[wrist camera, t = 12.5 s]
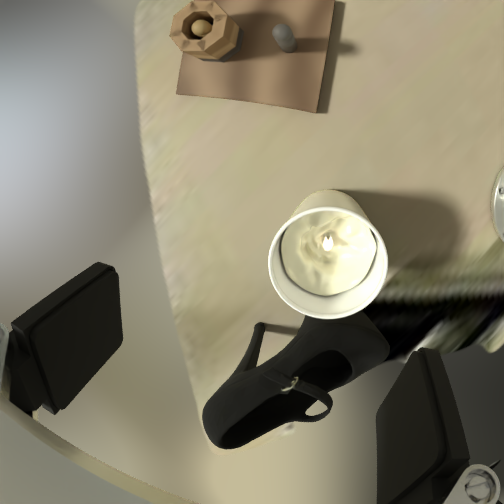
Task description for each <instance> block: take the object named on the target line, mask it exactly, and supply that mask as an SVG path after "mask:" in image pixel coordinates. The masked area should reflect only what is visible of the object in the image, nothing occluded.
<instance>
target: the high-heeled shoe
mask: <svg viewBox="0 0 504 504" xmlns="http://www.w3.org/2000/svg"><path fill="white" fill-rule="evenodd" d="M264 332H265V327H264V324H263V323H257V324H256V325H255V327H254V332H253V336H252V339H251V342H250V344H249V347H248V349H247V351H246V353H245V355H244V357H243V359H242V360H241V362H240V364H239V365H238V367H237V368H236V370H235V371H234V373H233V374H232V375H231V376H230V377H229V379H228V380H227V381H226V382H225V383H224V384H223V385H222V386H221V387H220V388H219V389H218V390H217V391H216V392H215V393H214V395H213V396H212V397H211V398H210V399H209V400H208V401H207V403H206V404H205V406H204V409H203V414H202V420H203V425H204V428H205V431H206V433H207V435H208V437H209V439H210V440H211V442H212V443H213V444H214V445H216V446H217V447H219V448H222V449H234V448H238V447H241V446H243V445H245V444H247V443H249V442H250V441H252V440H254V439H256V438H258V437H260V436H262V435H264V434H265V433H267V432H269V431H271V430H273V429H275V428H277V427H279V426H281V425H283V424H285V423H288V422H294V421H298V422H316V421H319V420H321V419H323V418H324V417H325V416H327V415H328V414H329V413H330V410H331V408H332V405H333V401H332V398H331V396H330V395H329V394H328V392H330V391H332V390H334V389H336V388H338V387H341V386H343V385H345V384H347V383H349V382H351V381H352V380H354V379H356V378H357V377H358V376H360V375H361V374H363V373H365V372H367V371H368V370H370V369H372V368H374V367H376V366H377V365H379V364H381V363H382V362H383V361H384V360H385V359H386V358H387V356H388V354H389V351H390V346H389V344H388V342H387V341H386V339H385V338H384V336H383V335H382V334H381V332H380V331H379V330H378V329H377V327H376V326H375V325H374V324H373V323H372V322H371V320H370V319H369V317H368V316H367V315H366V314H365V313H364V312H363V311H361V310H360V311H358V312H356V313H354V314H352V315H349V316H346V317H342V318H336V319H321V318H315V317H311V316H308V315H305V318H304V321H303V323H302V325H301V327H300V329H299V331H298V334H297V335H296V336H295V337H294V338H293V340H292V341H291V342H290V343H289V344H288V345H287V346H286V347H285V348H284V349H283V350H282V351H280V352H279V353H278V354H277V355H275V356H274V357H272V358H271V359H269V360H268V361H266V362H265V363H263V364H261V365H260V366H257V367H256V365H257V361H258V357H259V353H260V348H261V344H262V339H263V335H264ZM317 400H320V401H321V402H322V403H324V404H325V405H326V406H327V408H328V410H326V411H325V412H323V413H321V414H318V415H315V416H308V415H306V414H305V412H306V410H307V409H308V408H309V407H310V406H311V405H312V404H314V403H315V402H316V401H317Z"/></svg>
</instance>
